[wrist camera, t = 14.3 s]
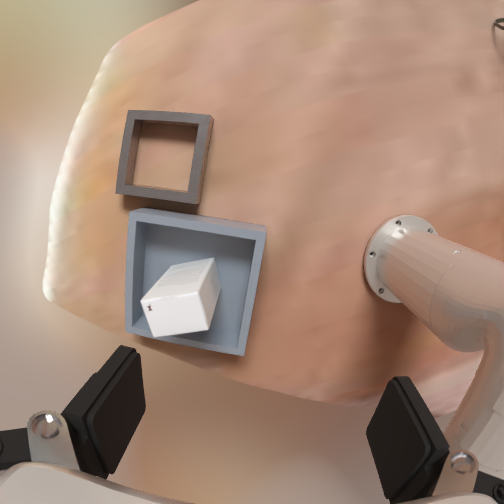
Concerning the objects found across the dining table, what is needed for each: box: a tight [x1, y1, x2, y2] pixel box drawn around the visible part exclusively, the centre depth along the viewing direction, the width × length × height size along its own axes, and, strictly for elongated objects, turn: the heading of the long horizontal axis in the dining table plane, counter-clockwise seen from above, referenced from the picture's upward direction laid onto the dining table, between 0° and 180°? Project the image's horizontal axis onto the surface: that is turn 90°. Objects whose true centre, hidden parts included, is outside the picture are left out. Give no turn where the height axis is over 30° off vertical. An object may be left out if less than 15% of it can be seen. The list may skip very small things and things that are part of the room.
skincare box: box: [140, 257, 221, 337], centre depth 33 cm, size 6×4×12 cm
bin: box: [125, 207, 266, 356], centre depth 37 cm, size 16×16×5 cm
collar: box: [116, 110, 214, 204], centre depth 35 cm, size 11×11×2 cm
